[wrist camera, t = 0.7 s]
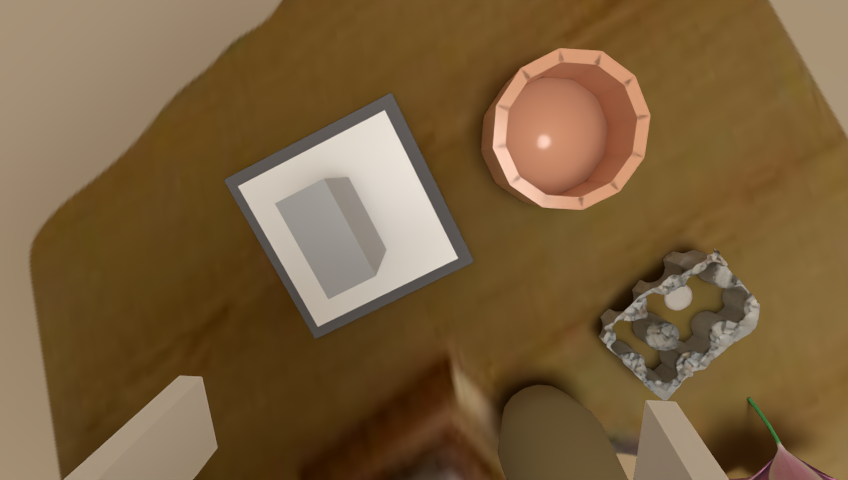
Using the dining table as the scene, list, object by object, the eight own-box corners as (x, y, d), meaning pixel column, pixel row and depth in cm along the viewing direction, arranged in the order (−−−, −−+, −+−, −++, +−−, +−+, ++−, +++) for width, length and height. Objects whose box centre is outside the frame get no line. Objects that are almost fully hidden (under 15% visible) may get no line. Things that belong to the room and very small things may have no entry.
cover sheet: (320, 323, 32) (284, 377, 24) (242, 185, 31) (173, 190, 22) (457, 256, 32) (471, 287, 23) (385, 111, 30) (372, 86, 21)
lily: (641, 432, 36) (714, 566, 29) (758, 354, 30) (887, 498, 23) (723, 447, 41) (805, 566, 33) (839, 381, 35) (969, 509, 27)
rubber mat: (317, 336, 33) (315, 339, 33) (227, 179, 31) (223, 179, 31) (473, 260, 32) (474, 261, 32) (392, 94, 30) (391, 92, 30)
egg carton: (685, 234, 33) (723, 242, 29) (739, 301, 34) (784, 318, 30) (581, 321, 34) (603, 341, 30) (637, 383, 35) (666, 411, 31)
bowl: (514, 224, 32) (532, 234, 27) (460, 107, 31) (468, 95, 26) (630, 167, 31) (670, 166, 27) (581, 45, 30) (613, 20, 25)
